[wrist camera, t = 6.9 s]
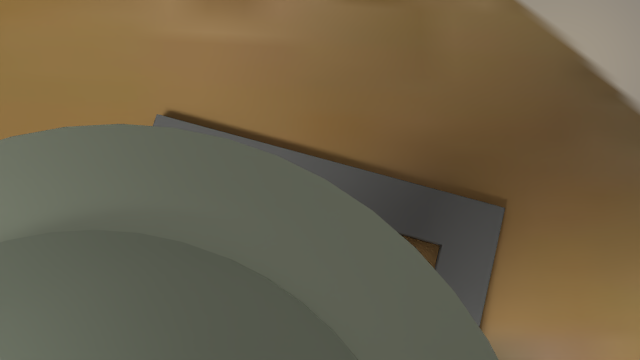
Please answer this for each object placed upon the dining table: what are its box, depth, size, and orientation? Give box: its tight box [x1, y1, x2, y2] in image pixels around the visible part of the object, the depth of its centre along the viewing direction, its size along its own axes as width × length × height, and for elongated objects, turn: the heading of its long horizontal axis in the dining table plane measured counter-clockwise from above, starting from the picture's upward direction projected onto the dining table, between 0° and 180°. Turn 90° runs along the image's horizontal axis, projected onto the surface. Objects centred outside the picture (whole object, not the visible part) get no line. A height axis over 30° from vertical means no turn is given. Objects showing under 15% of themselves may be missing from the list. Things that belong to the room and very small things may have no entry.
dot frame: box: [153, 114, 505, 326], centre depth 21 cm, size 14×14×1 cm
